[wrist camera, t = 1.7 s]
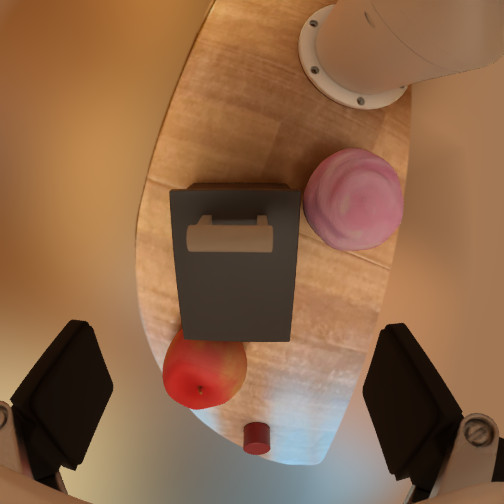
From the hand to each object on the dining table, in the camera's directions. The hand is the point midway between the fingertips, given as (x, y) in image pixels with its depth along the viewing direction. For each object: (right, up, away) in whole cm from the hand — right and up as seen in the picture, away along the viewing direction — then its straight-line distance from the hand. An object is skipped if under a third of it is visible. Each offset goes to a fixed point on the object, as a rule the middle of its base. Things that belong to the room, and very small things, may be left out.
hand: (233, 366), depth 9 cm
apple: (-5, -7, +28) cm, 30 cm away
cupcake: (+9, +10, +21) cm, 25 cm away
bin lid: (-1, +2, +15) cm, 16 cm away
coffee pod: (+1, -27, +36) cm, 45 cm away
